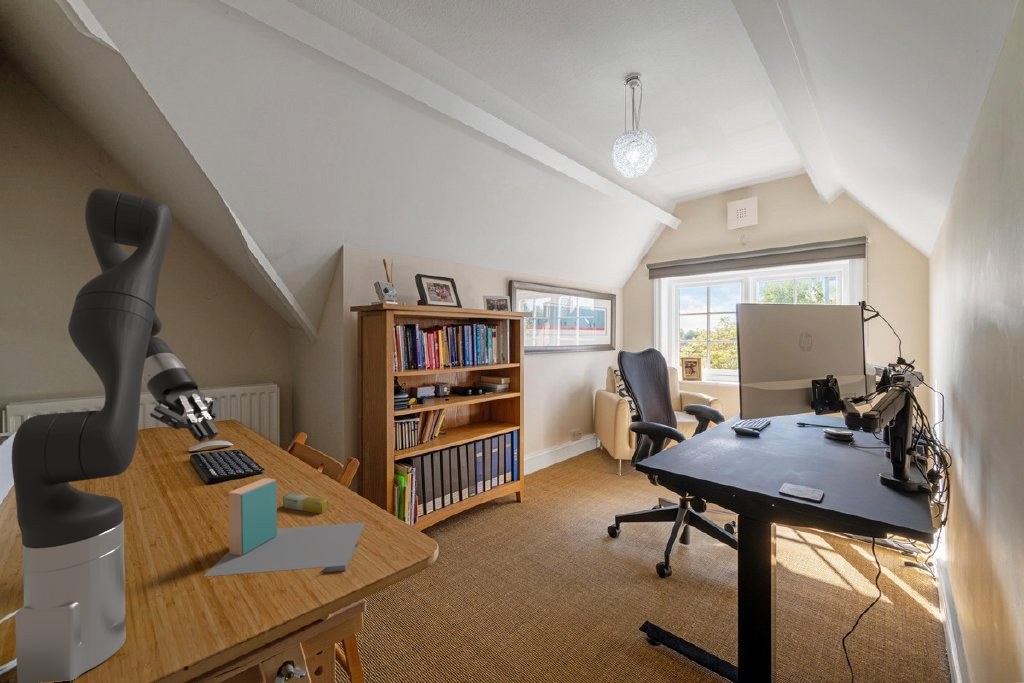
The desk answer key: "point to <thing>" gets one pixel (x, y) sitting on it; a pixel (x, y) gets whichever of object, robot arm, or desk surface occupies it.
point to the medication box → (305, 503)
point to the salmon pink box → (252, 516)
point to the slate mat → (296, 551)
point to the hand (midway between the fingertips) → (209, 437)
